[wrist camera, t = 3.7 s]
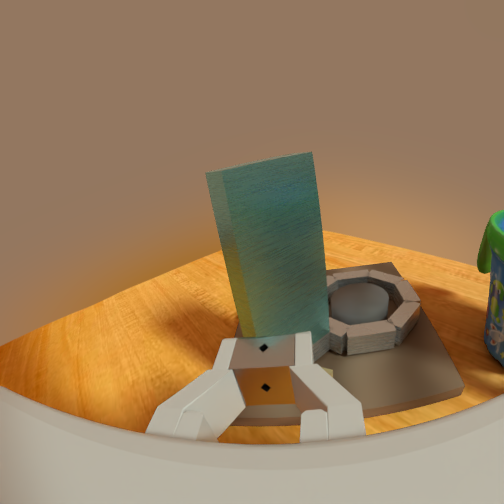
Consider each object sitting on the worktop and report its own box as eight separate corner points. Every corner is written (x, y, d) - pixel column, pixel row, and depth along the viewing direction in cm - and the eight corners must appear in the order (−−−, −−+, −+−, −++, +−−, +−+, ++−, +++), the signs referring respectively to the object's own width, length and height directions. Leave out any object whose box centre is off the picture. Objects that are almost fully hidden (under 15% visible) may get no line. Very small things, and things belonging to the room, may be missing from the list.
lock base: (214, 424, 17) (201, 398, 16) (253, 285, 35) (248, 263, 34) (460, 394, 14) (473, 364, 13) (391, 269, 32) (391, 246, 31)
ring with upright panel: (253, 395, 17) (198, 175, 12) (270, 295, 30) (245, 156, 25) (446, 369, 15) (473, 148, 10) (396, 280, 27) (390, 140, 22)
